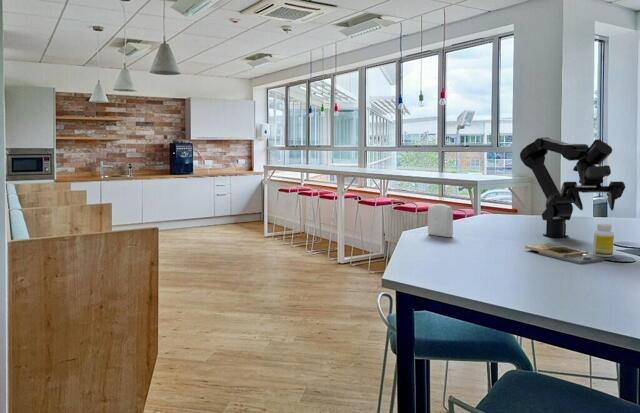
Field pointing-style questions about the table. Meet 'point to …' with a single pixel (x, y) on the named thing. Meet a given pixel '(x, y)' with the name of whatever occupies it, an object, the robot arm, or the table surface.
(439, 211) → the photo printer
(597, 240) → the supplement bottle
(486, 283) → the table surface
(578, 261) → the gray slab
